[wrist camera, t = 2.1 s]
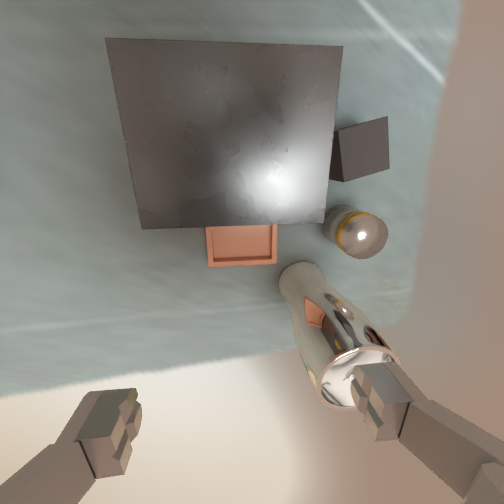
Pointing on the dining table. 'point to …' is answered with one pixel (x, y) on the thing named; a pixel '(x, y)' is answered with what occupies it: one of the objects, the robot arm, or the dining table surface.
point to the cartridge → (355, 231)
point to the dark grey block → (226, 129)
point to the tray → (241, 245)
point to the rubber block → (360, 150)
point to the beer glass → (330, 334)
